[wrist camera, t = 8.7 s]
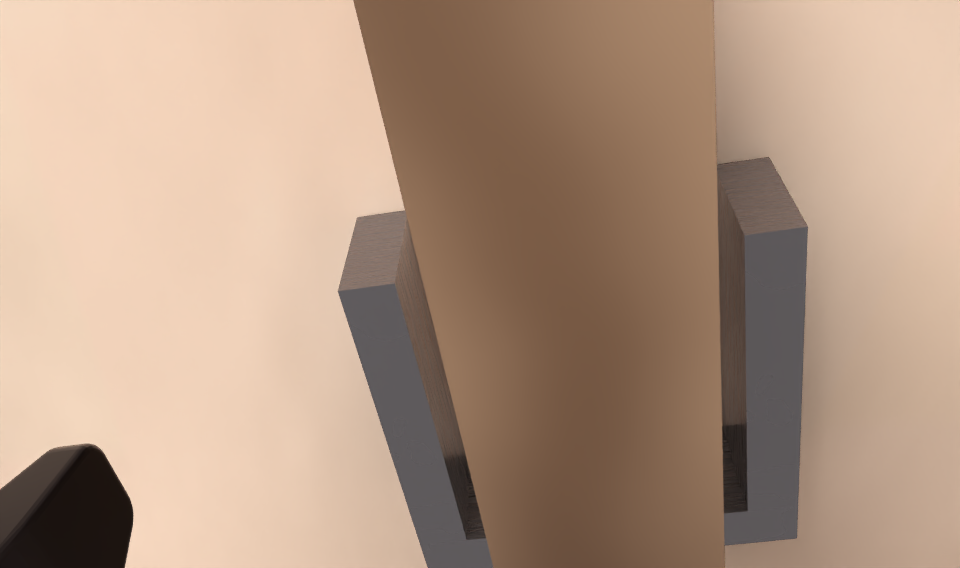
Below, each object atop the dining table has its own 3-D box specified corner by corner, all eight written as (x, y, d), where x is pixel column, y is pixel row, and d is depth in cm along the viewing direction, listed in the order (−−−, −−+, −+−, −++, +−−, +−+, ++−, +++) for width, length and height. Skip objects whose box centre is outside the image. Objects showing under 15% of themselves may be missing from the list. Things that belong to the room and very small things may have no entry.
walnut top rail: (621, -235, 16) (709, -167, 9) (662, 371, 23) (726, 644, 17) (398, -192, 16) (328, -100, 9) (511, 388, 24) (517, 662, 17)
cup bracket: (768, 157, 20) (813, 237, 17) (767, 452, 25) (801, 551, 22) (357, 217, 21) (334, 302, 18) (436, 488, 26) (429, 587, 23)
